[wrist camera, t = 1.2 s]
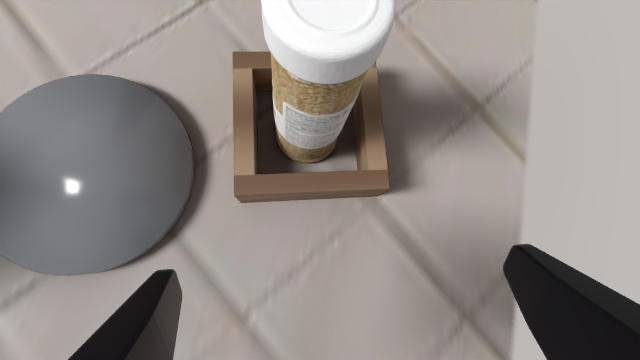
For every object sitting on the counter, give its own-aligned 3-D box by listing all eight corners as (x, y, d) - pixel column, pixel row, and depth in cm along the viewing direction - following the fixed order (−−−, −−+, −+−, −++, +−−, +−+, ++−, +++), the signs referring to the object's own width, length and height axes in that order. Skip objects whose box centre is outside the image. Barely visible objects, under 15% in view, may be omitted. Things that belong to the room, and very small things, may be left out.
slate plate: (136, 306, 20) (128, 309, 19) (-63, 227, 20) (-81, 226, 19) (226, 124, 23) (224, 118, 22) (54, 54, 23) (44, 45, 22)
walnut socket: (376, 196, 23) (389, 188, 20) (241, 202, 22) (234, 195, 19) (364, 74, 25) (374, 51, 22) (239, 75, 24) (232, 51, 21)
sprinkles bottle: (285, 98, 24) (283, -84, 11) (344, 115, 24) (412, -43, 11) (266, 155, 23) (240, 29, 10) (329, 173, 23) (383, 73, 10)
